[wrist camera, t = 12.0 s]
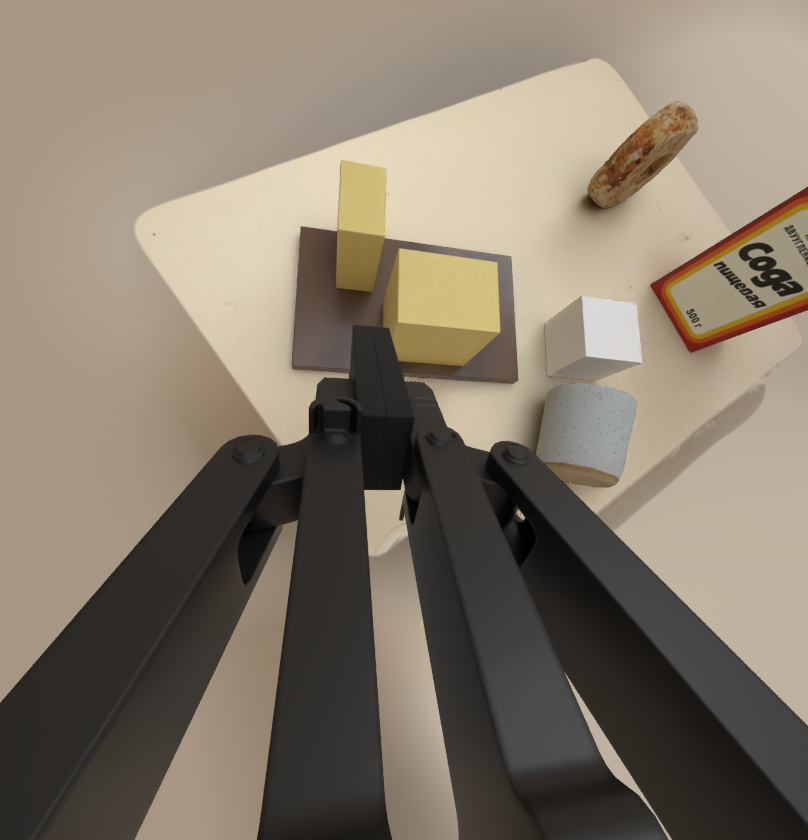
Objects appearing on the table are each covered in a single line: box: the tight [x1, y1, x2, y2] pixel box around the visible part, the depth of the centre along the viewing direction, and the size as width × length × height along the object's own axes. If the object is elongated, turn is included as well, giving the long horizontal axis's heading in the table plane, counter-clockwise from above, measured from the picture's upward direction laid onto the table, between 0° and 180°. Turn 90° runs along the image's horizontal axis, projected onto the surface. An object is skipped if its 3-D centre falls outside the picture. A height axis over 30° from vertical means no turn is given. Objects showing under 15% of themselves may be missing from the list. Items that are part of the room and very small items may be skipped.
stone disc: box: [588, 101, 699, 208], centre depth 39 cm, size 10×4×10 cm, turn 121°
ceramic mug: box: [536, 383, 637, 487], centre depth 33 cm, size 11×8×8 cm
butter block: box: [383, 248, 500, 366], centre depth 30 cm, size 8×6×8 cm
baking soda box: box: [651, 187, 808, 353], centre depth 35 cm, size 10×6×16 cm
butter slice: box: [336, 160, 386, 292], centre depth 30 cm, size 4×6×8 cm, turn 179°
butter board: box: [292, 226, 518, 383], centre depth 35 cm, size 22×14×1 cm, turn 90°
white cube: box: [544, 296, 642, 381], centre depth 36 cm, size 6×6×6 cm
